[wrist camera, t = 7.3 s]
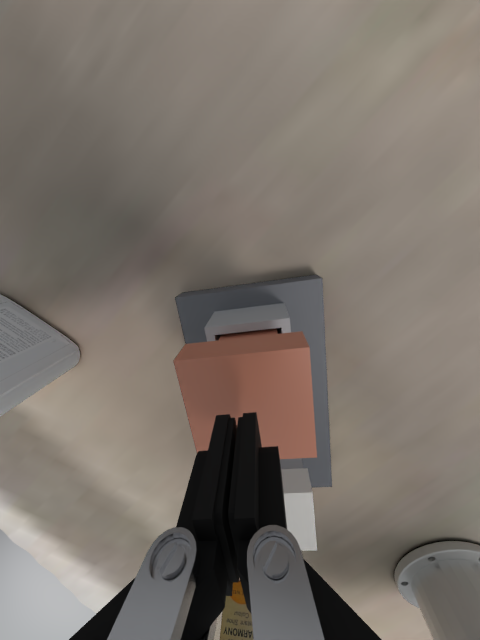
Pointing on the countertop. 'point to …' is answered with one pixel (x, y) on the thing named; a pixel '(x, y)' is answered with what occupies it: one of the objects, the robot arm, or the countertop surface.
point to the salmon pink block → (251, 388)
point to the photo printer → (29, 354)
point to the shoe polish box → (236, 617)
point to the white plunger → (299, 507)
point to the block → (286, 316)
